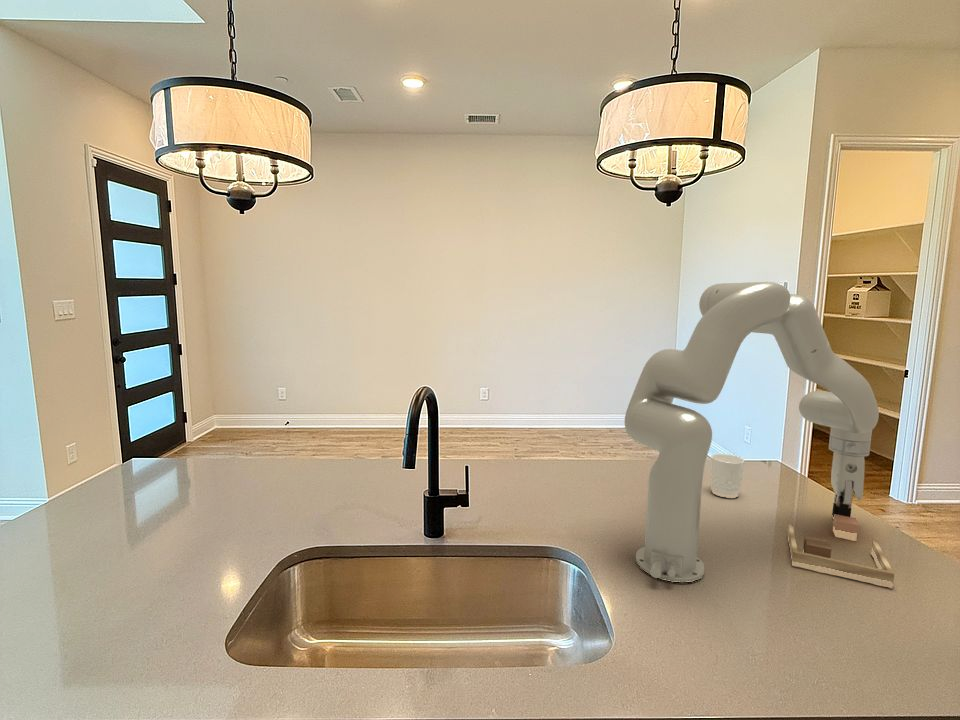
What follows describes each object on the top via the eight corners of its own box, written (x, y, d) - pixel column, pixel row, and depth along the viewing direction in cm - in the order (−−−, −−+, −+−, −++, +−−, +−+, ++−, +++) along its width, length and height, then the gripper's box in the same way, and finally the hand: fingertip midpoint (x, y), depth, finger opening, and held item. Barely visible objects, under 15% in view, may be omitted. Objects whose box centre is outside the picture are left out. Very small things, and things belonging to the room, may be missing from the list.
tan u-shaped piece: (892, 589, 91) (894, 573, 91) (791, 566, 98) (793, 552, 98) (875, 555, 103) (877, 541, 103) (787, 536, 111) (788, 524, 110)
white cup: (733, 502, 129) (736, 465, 127) (703, 493, 135) (705, 457, 133) (746, 495, 134) (749, 459, 132) (716, 486, 140) (719, 451, 138)
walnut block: (829, 568, 98) (831, 549, 97) (805, 563, 100) (807, 544, 99) (825, 559, 101) (827, 540, 101) (802, 554, 103) (804, 536, 103)
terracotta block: (856, 542, 109) (858, 525, 108) (834, 538, 111) (836, 520, 110) (853, 535, 112) (855, 518, 112) (832, 530, 114) (834, 514, 114)
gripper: (877, 457, 106) (867, 539, 108) (862, 439, 119) (854, 513, 121) (834, 451, 109) (825, 531, 112) (824, 435, 122) (817, 506, 125)
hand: (840, 521), depth 116 cm, fingers closed
